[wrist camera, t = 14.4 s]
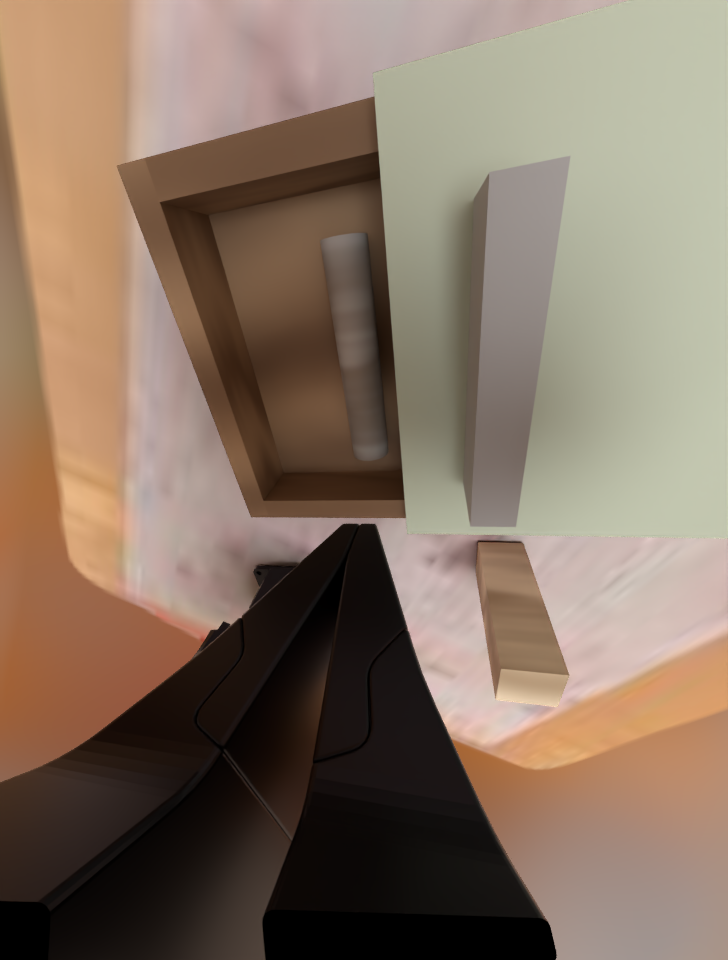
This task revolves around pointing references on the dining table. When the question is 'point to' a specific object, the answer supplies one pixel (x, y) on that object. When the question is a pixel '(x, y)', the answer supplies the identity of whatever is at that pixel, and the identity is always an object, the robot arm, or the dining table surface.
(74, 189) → the dining table surface
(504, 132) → the lid
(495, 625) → the brown wooden block
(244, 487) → the wooden box tray
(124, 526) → the dining table surface
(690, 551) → the dining table surface
